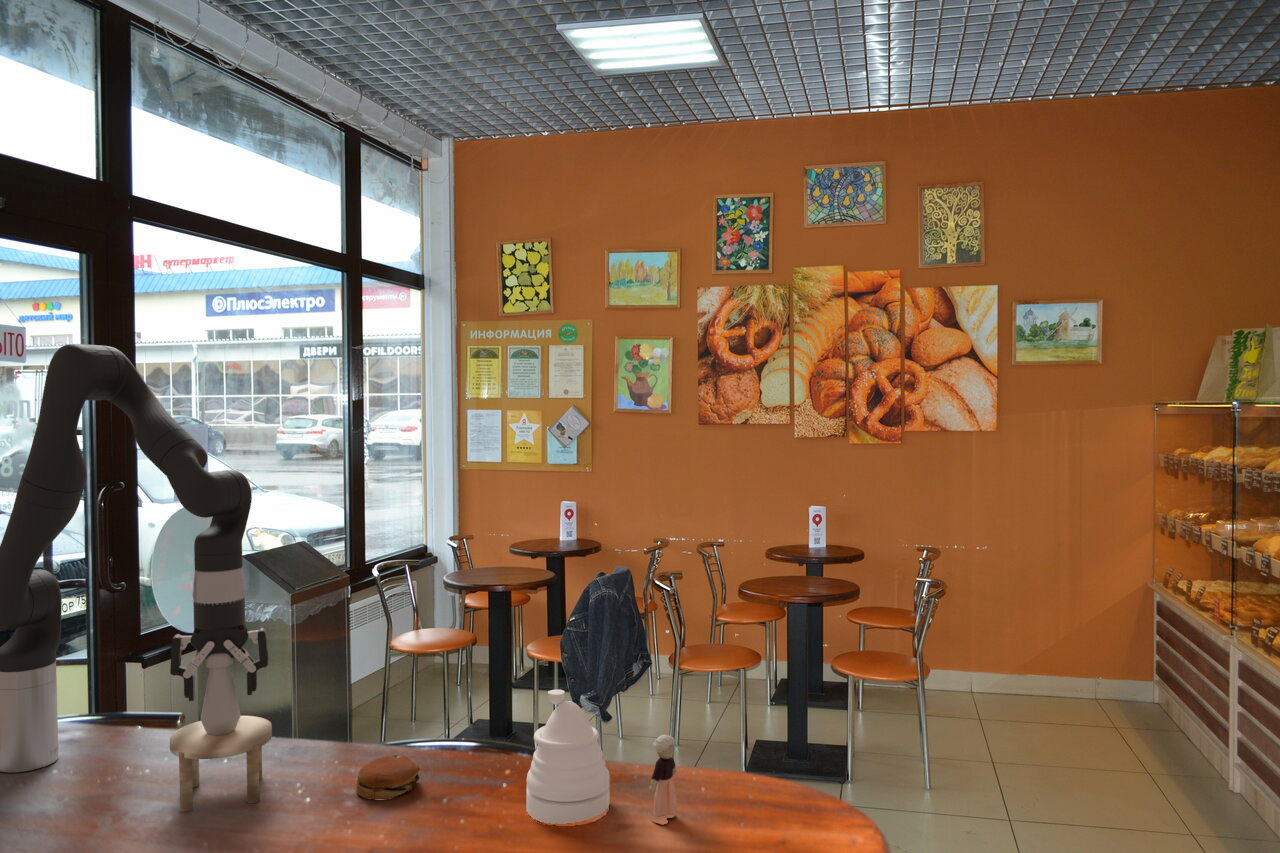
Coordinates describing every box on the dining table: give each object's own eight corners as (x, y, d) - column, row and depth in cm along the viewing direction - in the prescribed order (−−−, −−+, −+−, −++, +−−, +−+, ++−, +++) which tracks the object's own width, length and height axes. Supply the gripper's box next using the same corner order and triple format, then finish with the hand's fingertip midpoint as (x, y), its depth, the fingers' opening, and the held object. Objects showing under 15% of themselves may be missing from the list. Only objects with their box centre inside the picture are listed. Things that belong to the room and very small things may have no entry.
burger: (352, 803, 152) (352, 774, 152) (362, 780, 161) (361, 752, 161) (417, 800, 153) (416, 771, 153) (422, 777, 162) (422, 749, 162)
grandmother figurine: (670, 830, 142) (670, 745, 142) (645, 826, 143) (645, 742, 143) (683, 808, 150) (683, 727, 149) (659, 805, 151) (659, 725, 150)
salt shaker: (247, 725, 157) (245, 646, 157) (228, 738, 152) (226, 656, 151) (213, 724, 158) (211, 645, 158) (193, 737, 152) (191, 655, 152)
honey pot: (511, 819, 146) (511, 701, 145) (548, 786, 158) (548, 677, 157) (590, 832, 142) (589, 711, 141) (622, 797, 154) (621, 685, 153)
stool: (164, 819, 146) (163, 754, 145) (177, 781, 160) (176, 721, 160) (271, 805, 151) (270, 742, 150) (274, 769, 165) (273, 711, 164)
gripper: (268, 588, 160) (269, 685, 161) (173, 594, 155) (175, 694, 156) (266, 598, 153) (267, 699, 154) (166, 604, 148) (168, 709, 149)
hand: (221, 696), depth 155 cm, fingers open, 8 cm apart
